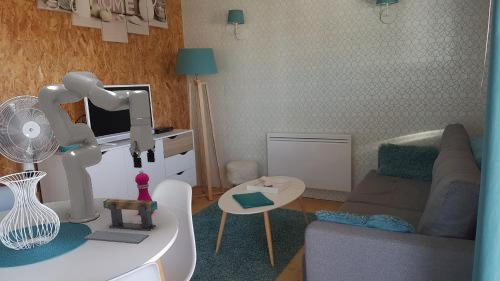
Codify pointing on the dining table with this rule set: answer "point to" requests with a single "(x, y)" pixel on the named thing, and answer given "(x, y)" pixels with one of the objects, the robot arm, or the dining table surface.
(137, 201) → the rail
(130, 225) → the bracket
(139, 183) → the pepper mill
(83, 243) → the dining table surface
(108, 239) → the mat
